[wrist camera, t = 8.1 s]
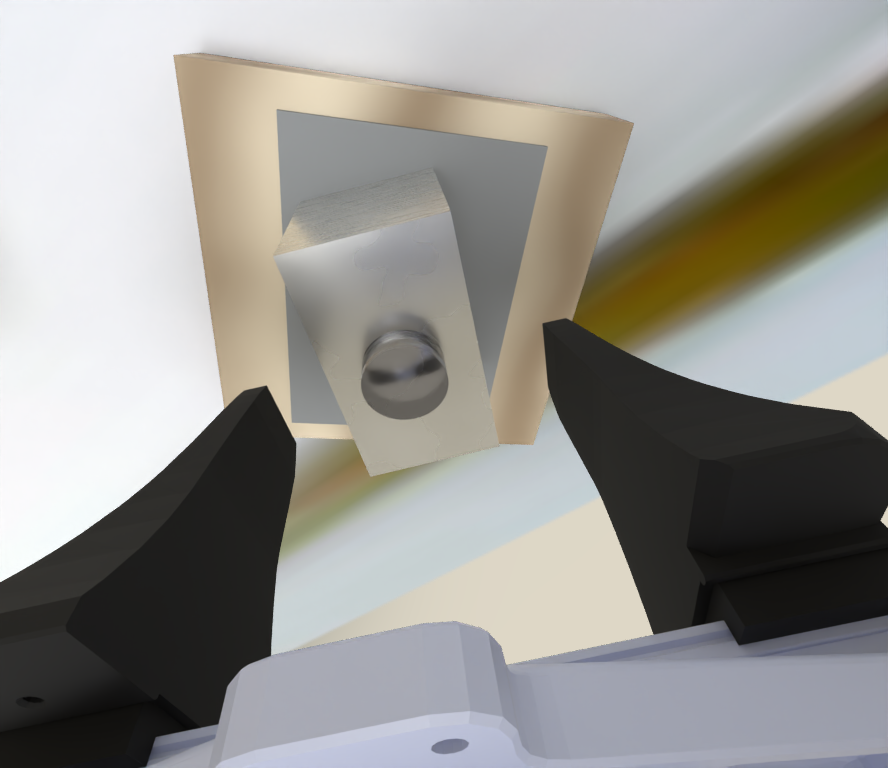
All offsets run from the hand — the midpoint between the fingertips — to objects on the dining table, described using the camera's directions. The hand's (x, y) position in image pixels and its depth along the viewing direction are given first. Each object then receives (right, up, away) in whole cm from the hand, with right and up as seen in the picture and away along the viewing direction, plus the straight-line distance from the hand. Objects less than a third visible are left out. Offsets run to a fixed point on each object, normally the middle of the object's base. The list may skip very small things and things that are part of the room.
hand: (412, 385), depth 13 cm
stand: (-1, +5, +8) cm, 9 cm away
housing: (-1, +3, +6) cm, 7 cm away
